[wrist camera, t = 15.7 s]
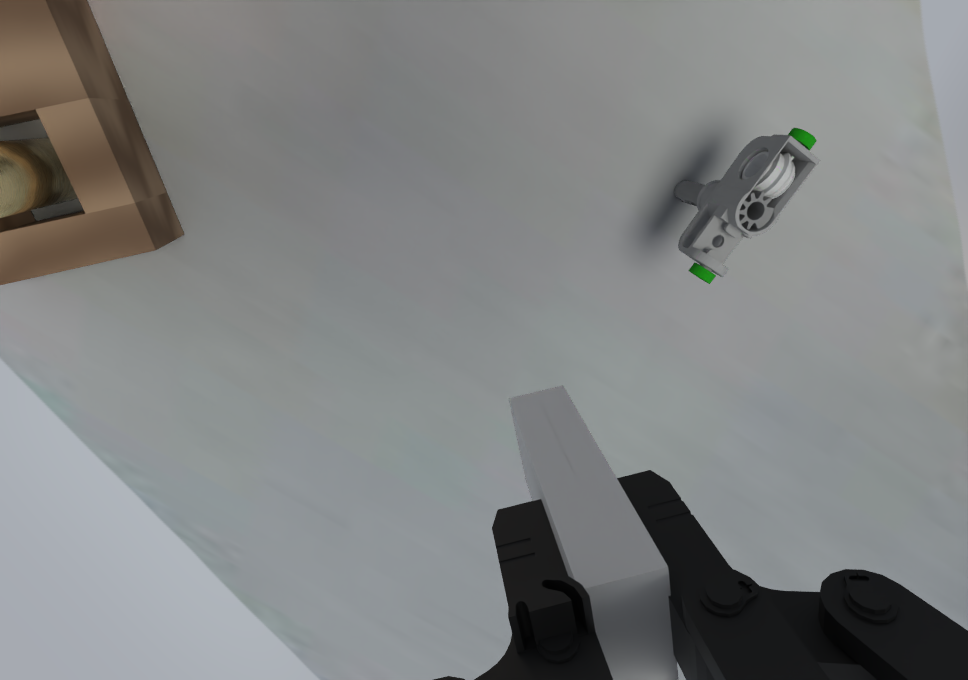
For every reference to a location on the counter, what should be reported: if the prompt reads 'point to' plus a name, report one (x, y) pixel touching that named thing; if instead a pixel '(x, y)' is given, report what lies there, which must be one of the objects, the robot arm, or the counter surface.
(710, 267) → the mechanical component
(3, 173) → the brass cylinder
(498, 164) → the counter surface
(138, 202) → the jig
